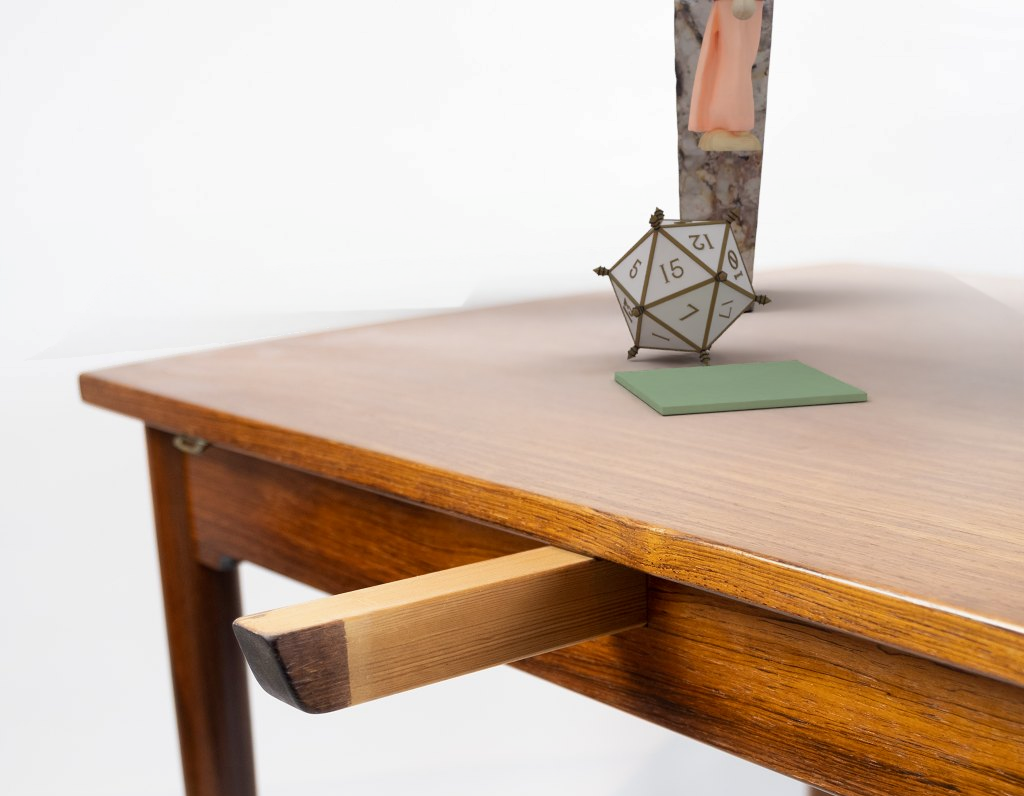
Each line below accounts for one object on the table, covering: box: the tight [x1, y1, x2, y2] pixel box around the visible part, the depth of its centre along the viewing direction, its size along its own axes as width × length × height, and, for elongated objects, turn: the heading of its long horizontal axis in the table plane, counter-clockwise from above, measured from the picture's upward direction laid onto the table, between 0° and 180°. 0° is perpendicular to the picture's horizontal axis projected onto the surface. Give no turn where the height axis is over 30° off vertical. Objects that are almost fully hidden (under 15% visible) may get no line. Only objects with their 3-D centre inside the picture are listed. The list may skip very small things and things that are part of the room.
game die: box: [592, 206, 772, 366], centre depth 83 cm, size 9×8×10 cm
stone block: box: [673, 0, 775, 312], centre depth 103 cm, size 13×7×20 cm, turn 176°
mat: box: [613, 359, 869, 416], centre depth 75 cm, size 10×10×1 cm
